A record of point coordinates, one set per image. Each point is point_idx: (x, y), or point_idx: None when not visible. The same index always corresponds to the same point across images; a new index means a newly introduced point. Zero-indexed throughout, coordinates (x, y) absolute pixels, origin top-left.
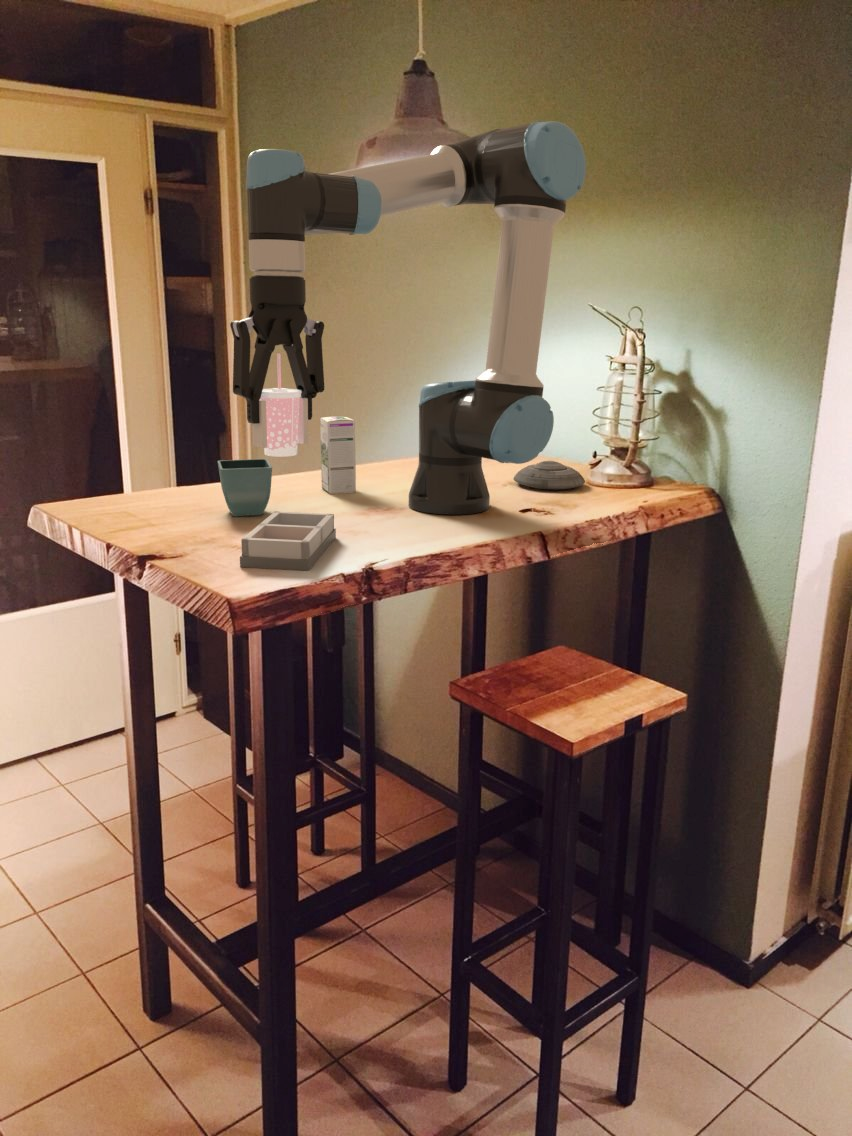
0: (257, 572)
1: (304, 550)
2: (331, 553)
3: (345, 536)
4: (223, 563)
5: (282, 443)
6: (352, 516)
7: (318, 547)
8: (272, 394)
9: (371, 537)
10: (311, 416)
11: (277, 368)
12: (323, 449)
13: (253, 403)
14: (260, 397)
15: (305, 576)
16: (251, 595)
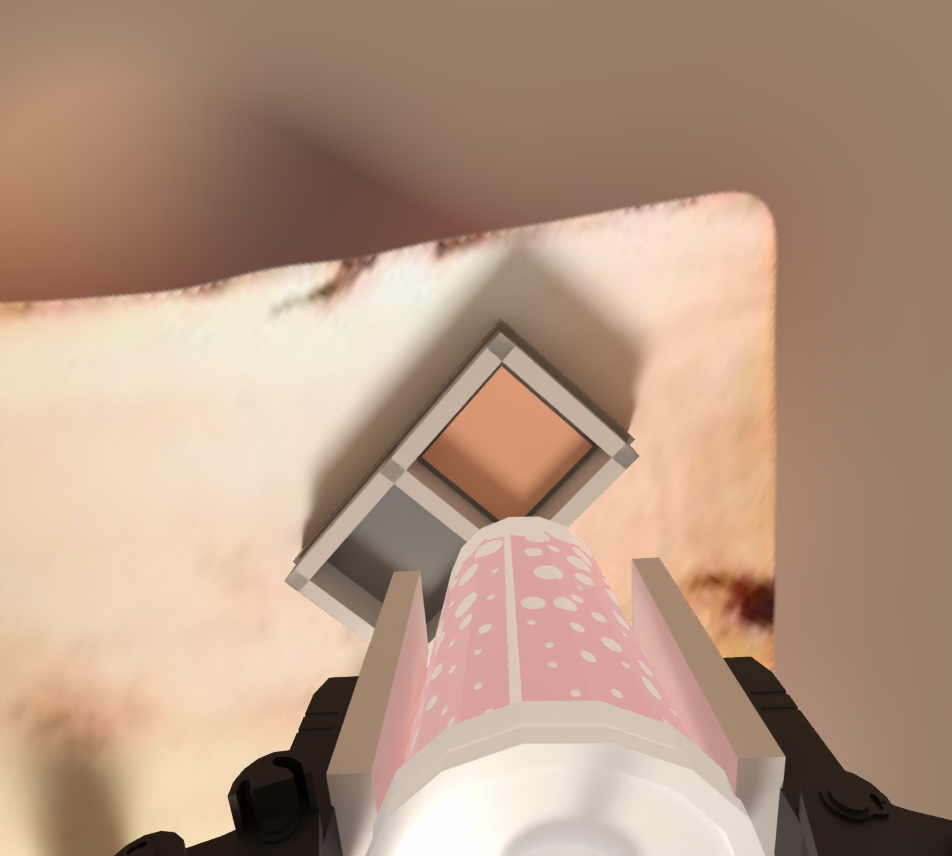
0: (614, 371)
1: (506, 336)
2: (376, 430)
3: (272, 551)
4: (644, 480)
5: (561, 546)
6: (171, 704)
7: (419, 419)
8: (716, 780)
9: (215, 511)
10: (321, 690)
11: None
12: None
13: (823, 766)
14: (804, 788)
15: (531, 278)
16: (722, 199)
